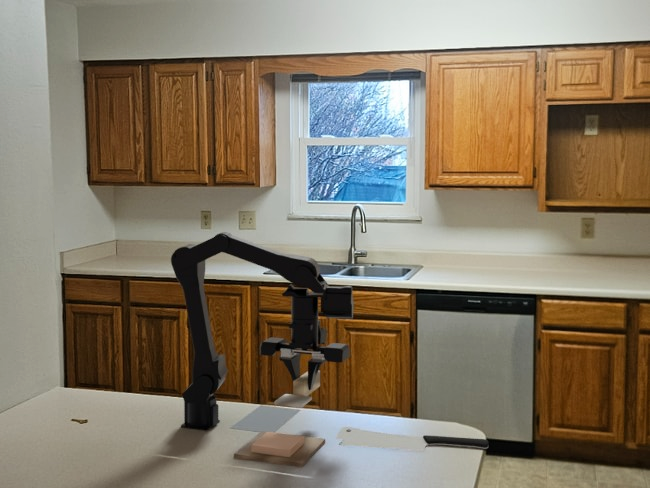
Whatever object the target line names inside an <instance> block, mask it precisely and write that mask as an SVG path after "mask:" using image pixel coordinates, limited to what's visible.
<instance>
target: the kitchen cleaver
mask: <svg viewBox="0 0 650 488" xmlns="http://www.w3.org/2000/svg"><path fill="white" fill-rule="evenodd" d="M335 439H336V440H341V442H339V444H338V445H339V446H350V447H363V448H365V447H366V448H381V449H393V450H394V449H395V450H404V451H405V450H409V451H418V452H419V451H421V452H423V451H424V452H426V447H427V446H429V447H430V446H433V447H434V446H442V447H443V446H444V447H454V446H461V447H460V448H467V447H474V448H473V449H478V448H480V450H488V449H489V440H487V439H486V438H473V437H472V438H471V437H457V436H455V437H454V436H445V435H444V436H443V435H442V436H441V435H427V434H426V435H423V436H418V435H405V434H404V435H403V434H395V433H387V432H386V433H385V432H378V431H372V430H366V429H362V428H361V429H360V428H357V427H352V426H343V427H341V428H340V430H339V432H338V433H337V435H336V438H335Z"/></svg>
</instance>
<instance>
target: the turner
mask: <svg viewBox="0 0 650 488" xmlns="http://www.w3.org/2000/svg"><path fill="white" fill-rule="evenodd" d="M292 381H293V380H292ZM292 384H293V385H292V386H293V387H292V388H293V392H292V393H293V394H291V393H290V394H289V393H284V394H283V395H282V396H280V397H278V398H277V399H276V400H275V401H274V402H273V405H276V406H282V407H283V406H284V407H293V408H298V409H300V408H301V409H302V408H303V407H304V406H306V405H308V403H309V402H310V401H312V400H313V396H310V395H311V394H312V393H314V391H316V390H317V389H318V388H320V387H321V370H319V371H318V373H317V376H316V379H315V382H314V385H313V388H312V389H311V390H309V388H308V370H307V371H306V372H304V373H303V374H302V375H300V377H299V378H297V379H296V380H294V381H293V382H292Z"/></svg>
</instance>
